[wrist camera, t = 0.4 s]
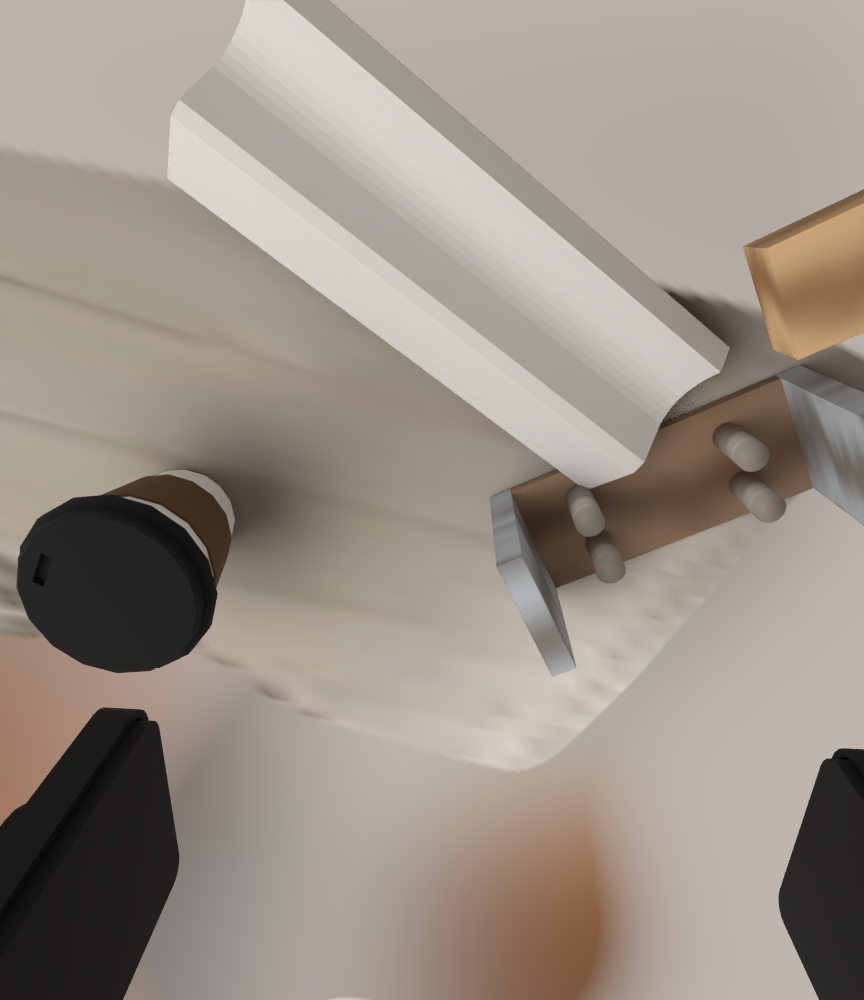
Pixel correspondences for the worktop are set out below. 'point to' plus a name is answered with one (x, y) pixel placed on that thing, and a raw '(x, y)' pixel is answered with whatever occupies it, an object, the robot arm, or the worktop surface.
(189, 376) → the worktop surface
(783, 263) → the shelf board
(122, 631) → the coffee cup
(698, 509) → the peg frame
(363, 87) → the crown molding
